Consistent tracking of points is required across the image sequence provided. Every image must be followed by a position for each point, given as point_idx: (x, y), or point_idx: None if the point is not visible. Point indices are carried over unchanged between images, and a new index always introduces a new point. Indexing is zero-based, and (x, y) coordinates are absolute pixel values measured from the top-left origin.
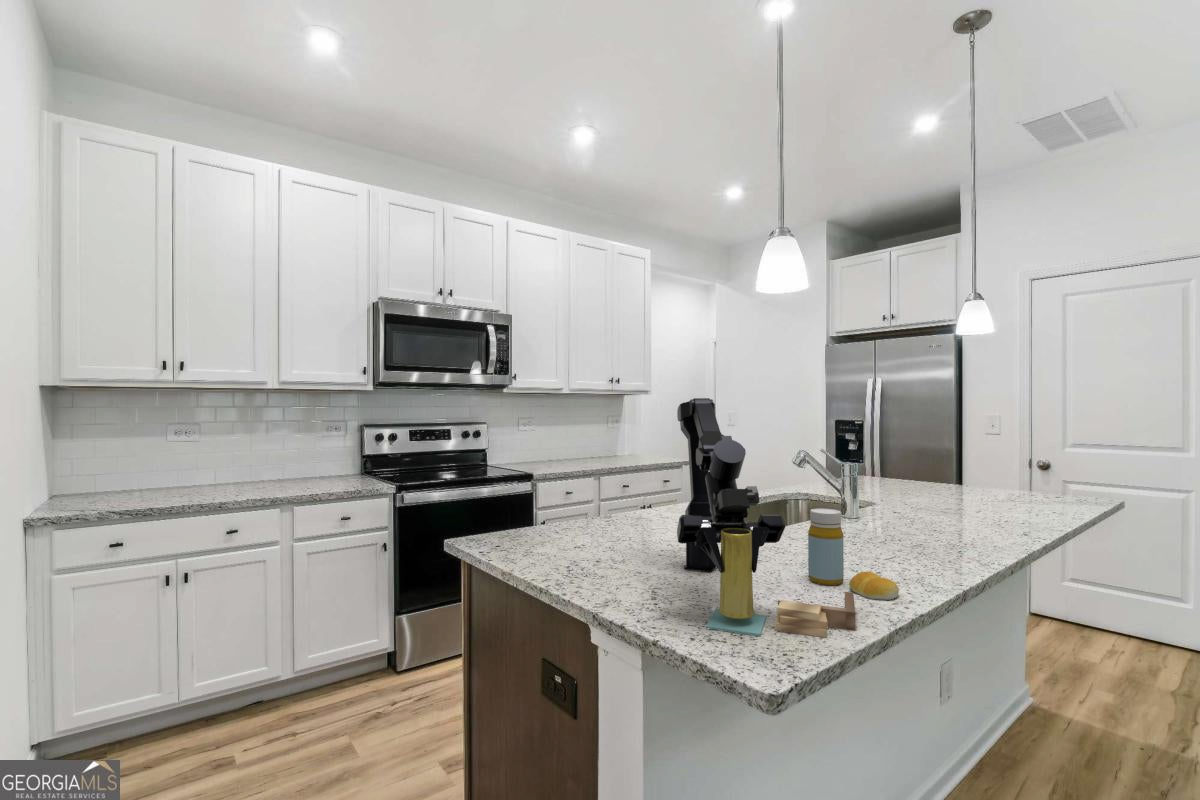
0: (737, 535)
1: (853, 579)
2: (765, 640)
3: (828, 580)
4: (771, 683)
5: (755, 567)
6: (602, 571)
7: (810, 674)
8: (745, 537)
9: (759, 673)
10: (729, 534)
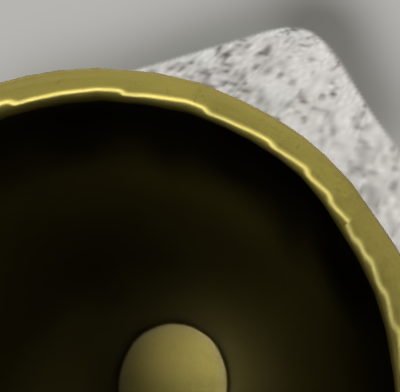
0: (222, 92)
1: None
2: None
3: None
4: (286, 49)
5: None
6: None
7: (189, 54)
8: (90, 107)
9: (289, 82)
10: (335, 172)
